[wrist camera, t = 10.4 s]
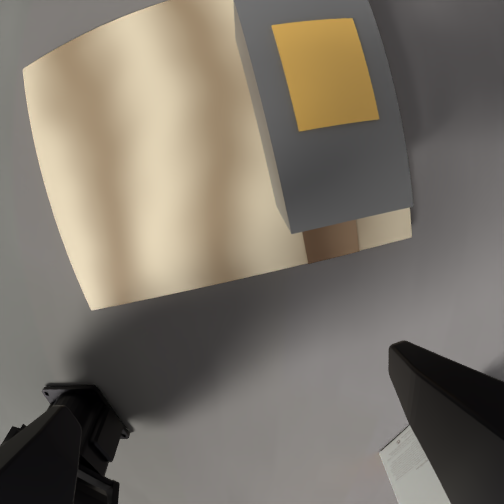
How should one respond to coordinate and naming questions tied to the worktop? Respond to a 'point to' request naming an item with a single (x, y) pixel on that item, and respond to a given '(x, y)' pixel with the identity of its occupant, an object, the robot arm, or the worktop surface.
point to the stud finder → (324, 109)
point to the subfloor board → (167, 160)
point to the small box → (411, 471)
